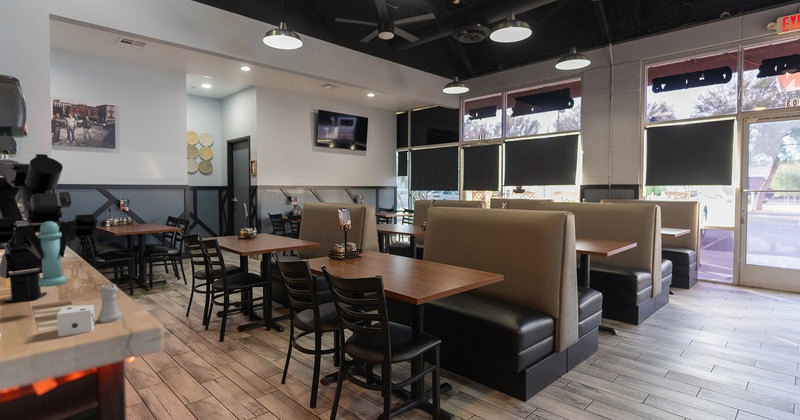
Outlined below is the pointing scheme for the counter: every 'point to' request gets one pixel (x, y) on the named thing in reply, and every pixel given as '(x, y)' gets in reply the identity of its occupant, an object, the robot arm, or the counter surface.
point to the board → (49, 314)
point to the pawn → (51, 255)
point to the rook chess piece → (109, 304)
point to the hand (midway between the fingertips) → (52, 257)
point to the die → (76, 320)
